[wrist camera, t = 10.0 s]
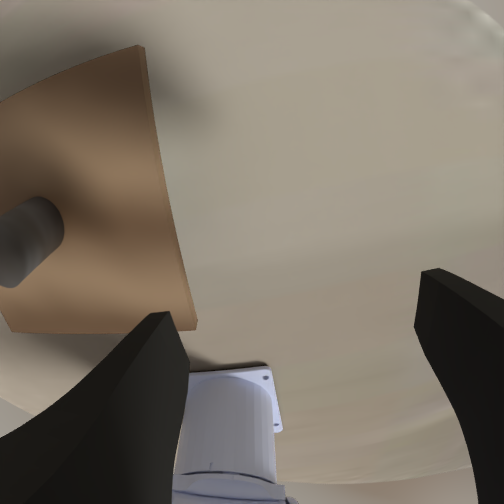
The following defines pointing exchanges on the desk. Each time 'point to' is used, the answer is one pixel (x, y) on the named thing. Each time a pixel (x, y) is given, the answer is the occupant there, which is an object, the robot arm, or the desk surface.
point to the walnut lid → (87, 205)
